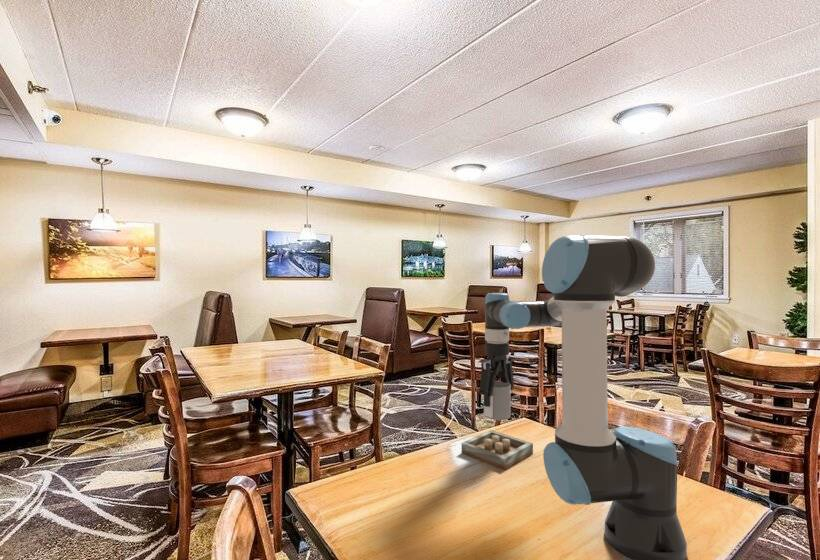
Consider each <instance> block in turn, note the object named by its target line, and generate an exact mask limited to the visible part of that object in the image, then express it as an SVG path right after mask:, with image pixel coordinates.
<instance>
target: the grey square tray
mask: <svg viewBox="0 0 820 560" xmlns="http://www.w3.org/2000/svg"><path fill="white" fill-rule="evenodd" d="M461 454H463V455H465V456H469V457H471V458H473V459H475V460H478V461H481V462H484V463H486V464H489V465H491V466H494V467H496V468H499V469H501V470H504V471H505V470H508V468H510V467H512V466H514V465H515V464H517V463H520V462H521V461H523V460H524V459H526V458H527V457H530V456H531V455H533V454H534V443H533V442H531V441H527V440H524V439H520V438H517V437H514V436H511V435H508V434H505V433H503V432H502V433H501V432H499V431H495V430H492V429H489V430H488V431H486V432H485V431H484V432H483V433H481V434H478V435H476V436H474V437H472V438H469V439H467V440H464V441H463V442H461Z"/></svg>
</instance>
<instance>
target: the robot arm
mask: <svg viewBox="0 0 820 560" xmlns="http://www.w3.org/2000/svg"><path fill="white" fill-rule="evenodd" d="M655 262H656V261H655V258H654V255H653V252H652V251H651V249H650V248H649V247H648V246H647V245H646V244H645V243H644V242H642V241H641V240H639V239H637V238H634V237H632V236H631V237H630V236H626V235H625V236H624V235H617V236H616V235H615V236H614V235H589V234H587V235H586V234H577V235H576V234H575V235H566V236H561V237H558V238H557V239H555V240H554V241H553V242H552V243H551V244H550V245H549V247H548V249H547V250H546V252H545V254H544V257H543V260H542V267H541V278H542V279H541V280H542V282H543V284H544V287H545V288H546V290H547V291H548V292H551V293H552V294H553V296H552V297H550V298H549V299H547V300H533V301H532V300H528V301H526V300H525V301H524V300H523V301H522V300H519V301H512V300H511V299H510V294H508V293H507V292H506V293H504V292H491V293H490V292H489V293H487V294H486V295H485V301H484V318H485V319H484V321H485V322H484V323H485V324H484V340H485V343H484V353H485V354H486V355H487V360H486V361H481V363H480V364H481V365H480V366H481V370H480V371H481V373H480V383H479V390H478V394H479V395H481V396H483V416H484V417H485V416H487V417H491V418H492V417H493V396H491V394H492V390H493V386H494V382H495V381H496V377H497V376H499V381H502V382H503V383H506V382H507V383H509V384H511V391H512V390H514V386H515V382H514V375H513V374H514V372H513V364H512V363H513V357H512V356H509V354H510V343H509V341H510V329H511V330H513V329H514V330H515V329H516V330H519V329H523V328H528V327H529V328H531V327H532V328H533V327H561V389H562V390H561V392H562V393H561V396H562V398H561V399H562V400H561V401H562V403H561V405H562V408H561V409H562V413H561V414H562V417H561V418H562V419H561V420H562V422H561V424H559V425H558V426H557V427H556V428H555V430H554V442H553V441H551V442H550V443H546V445H545V447H544V449H543V465H544V469H545V472H546V475H547V478H548V481H549V484H550V486H551V487H552V489H553V490H554V492H555V493H556V495H557V496H558V497H559V499H561V500H562V501H563V502H565V503H566V504H568V505H574V506H575V505H585V506H588V505H591V504H598V503H605V502H611V504H610V507H609V509H608V512H607V515H606V518H605V520H604V536H605V539H606V540H607V542H608V543H609V545H611V547H613V549H615V550H616V551H618V552H619V553H620V554H622V555H624V556H626V557H628V558H630V559H632V560H686V559H687V554H688V549H687V547H688V546H687V540H686V537H685V535H684V531H683V529H682V525H681V522H680V519H679V516H678V513H677V512H678V511H677V510H678V509H677V501H678V500H677V498H678V497H677V494H678V492H677V491H678V465H679V462H678V461H677V460H678V459H677V458H678V457H677V448H676V445H675V444H674V443H673V441H672V440H670V439H669V438H667V437H665V436H663V435H661V434H658V433H656V432H653V431H650V430H646V429H643V428H639V427H633V426H625V425H624V426H623V425H621V426H616V427H615V428H614V429H613V432H612V431H611V430H610V428H609V427H608V426H609V425H608V423H609V422H608V421H609V420H608V416H609V415H608V411H609V410H608V408H609V406H608V405H609V403H608V327H607V326H608V322H607V321H608V316H607V315H608V312H607V310H608V309H609V308H610V307H611V306H613V305H614V304H615V302H616V297H617V298H623V297H626V296H627V297H628V296H629V295H632V294H634V293H636V292H638V291H640V290H642V288H644V287H646V286H647V285H648V284H649V283H650V282H651V280H652V278H653V276H654V273H655V270H656V263H655Z"/></svg>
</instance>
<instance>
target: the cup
mask: <svg viewBox="0 0 820 560" xmlns="http://www.w3.org/2000/svg"><path fill="white" fill-rule="evenodd" d="M511 391H512V390H511V384H509V383H507V382H506V383H503V382H502V381H501V380H495V382H494V386H493V390H492V394H491V396H493V417H492V418H491V417H487V416H484V417H485V418H487V419H490V420H494V421H504V420H508V419H510V418H511V416H512V415H511V411H512V409H511V405H512V404H511V403H512V402H511V401H512V400H511V399H512V398H511V397H512V396H511V393H512V392H511Z"/></svg>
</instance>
